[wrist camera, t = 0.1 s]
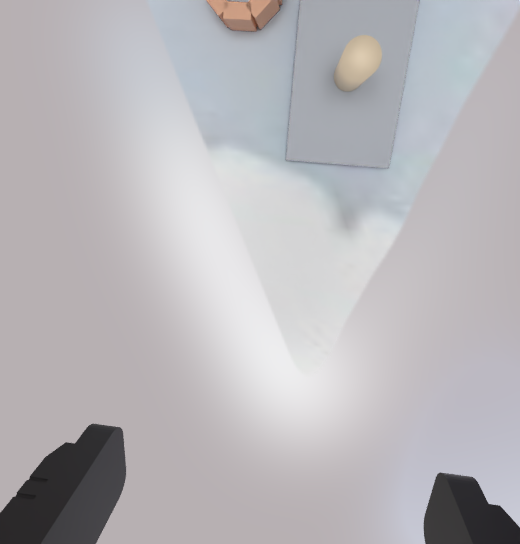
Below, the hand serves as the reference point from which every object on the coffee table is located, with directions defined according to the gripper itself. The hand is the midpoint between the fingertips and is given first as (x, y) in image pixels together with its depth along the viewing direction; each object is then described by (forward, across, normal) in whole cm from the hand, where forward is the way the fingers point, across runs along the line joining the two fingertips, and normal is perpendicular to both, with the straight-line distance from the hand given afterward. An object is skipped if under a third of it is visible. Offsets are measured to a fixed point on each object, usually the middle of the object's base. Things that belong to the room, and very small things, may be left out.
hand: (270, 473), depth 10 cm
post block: (+29, -3, -13) cm, 32 cm away
